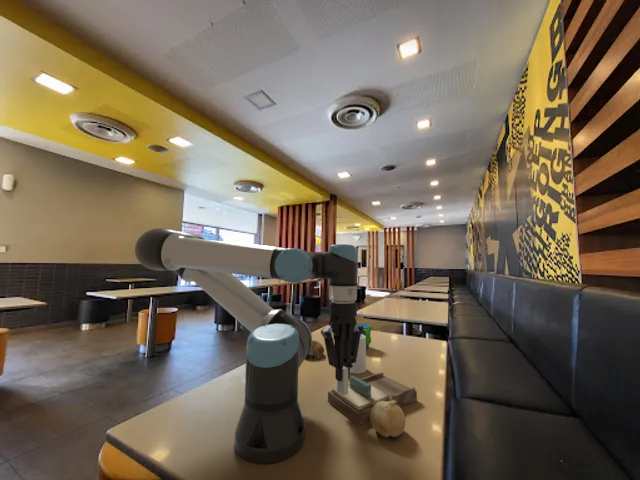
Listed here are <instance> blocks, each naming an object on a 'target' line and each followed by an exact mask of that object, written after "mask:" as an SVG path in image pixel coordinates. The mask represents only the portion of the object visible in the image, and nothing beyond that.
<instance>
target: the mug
mask: <svg viewBox="0 0 640 480" xmlns="http://www.w3.org/2000/svg"><path fill="white" fill-rule="evenodd" d="M366 349H367V348H366V336H365V335H362V334H361V336H360V341H359V347H358V353H357V359H356V362H355V363H352V365H353V367H352V368H350V374H354V375H355V374H356V375H359V374H364V373H365V372H367V363H366V362H367V355H366V354H367V350H366Z"/></svg>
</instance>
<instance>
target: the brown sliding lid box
mask: <svg viewBox="0 0 640 480" xmlns="http://www.w3.org/2000/svg"><path fill="white" fill-rule="evenodd" d="M360 379H361V380H363V381H364V382H366V383H368V384H370V385H371V386H373V387H375V388H377V389H379V390H380V391H382V392H384V393H386V394H388V395H389V399H387V400H384V401H388V402H389V401H391V400H392V399H393V400H396V401H397V403H396V404H397V405H398V406H399V407H400V408H402V407H405V406H407V405H409V404H411V403H414V402H416V401H418V395H417V394H418V393H417V392H418V391H417V390H416V387H414V386H413V387H409V386H406V385H404V384H402V383H401V382H398V381H397V380H393V379H392V378H390V377H388V376H385V375H384V372H378V373H375V374H371V375H369V376H365V377H362V378H360ZM391 396H392V399H391ZM327 402H329V403H330V404H331V405H332V406H334V407H335V408H336V409H338V410H339V411H340V412H341V413H342V414H344V415H345V416H347V417H348V418H349V419H351V420H352V421H353V422H355V423H356V424H357V425H359V426H360V425H362V424H364V423H366V422H368V421H371V419H370V413H371V410H372V408H373V406H374V405H375V404H373V405H371V406H368V407H366V408H363V409H360V410H357V409H356V408H354V407H353V406H352V405H350V404H349V403H347V402H346V401H344V400H343V399H342V398H340V397H339V396H337V395H336V394H334V393H333V392H332V390H329V391H327Z"/></svg>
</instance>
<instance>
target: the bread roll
mask: <svg viewBox="0 0 640 480" xmlns="http://www.w3.org/2000/svg"><path fill="white" fill-rule="evenodd" d="M324 353H325V348H324V346H323V344H322V343H321V342H319V341H318V340H315V339H312V344H311V348H310V351H309V354H308V355H307V356H306V358H309V359H308V360H315V359H314V358H317V359H321V358H322V357H323V356H324ZM320 357H321V358H320ZM306 358H305V359H306Z"/></svg>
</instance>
